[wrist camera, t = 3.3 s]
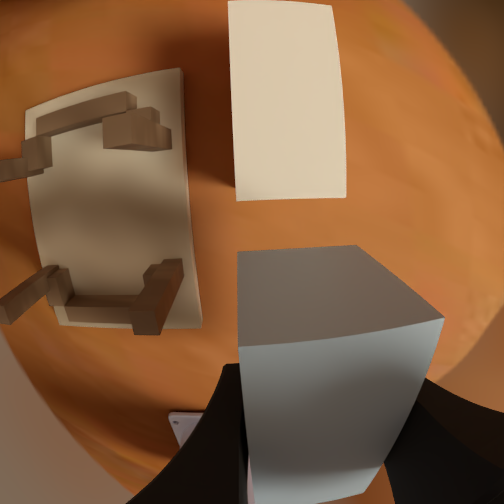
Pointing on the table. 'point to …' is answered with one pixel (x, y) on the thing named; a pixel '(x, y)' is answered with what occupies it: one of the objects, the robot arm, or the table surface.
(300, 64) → the cream white block
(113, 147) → the jig
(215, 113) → the table surface
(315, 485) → the grey block
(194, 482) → the robot arm
